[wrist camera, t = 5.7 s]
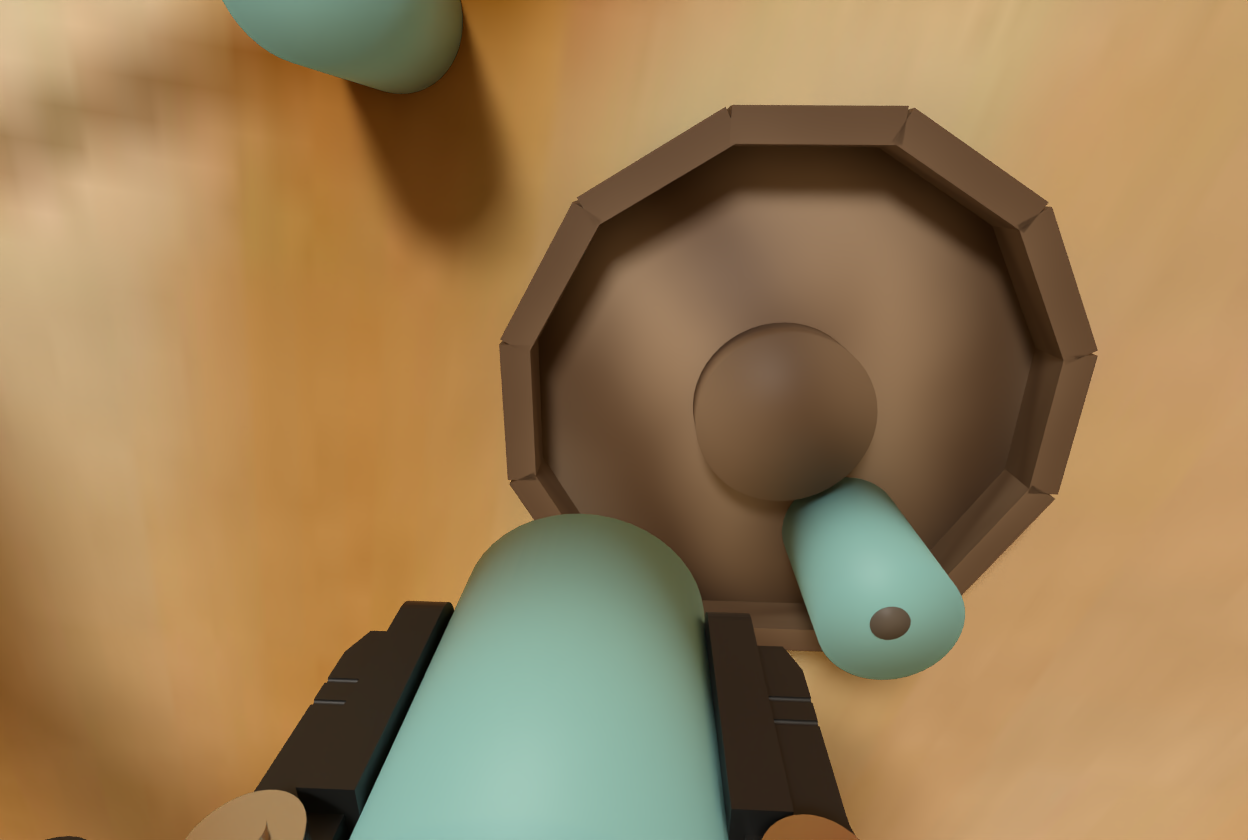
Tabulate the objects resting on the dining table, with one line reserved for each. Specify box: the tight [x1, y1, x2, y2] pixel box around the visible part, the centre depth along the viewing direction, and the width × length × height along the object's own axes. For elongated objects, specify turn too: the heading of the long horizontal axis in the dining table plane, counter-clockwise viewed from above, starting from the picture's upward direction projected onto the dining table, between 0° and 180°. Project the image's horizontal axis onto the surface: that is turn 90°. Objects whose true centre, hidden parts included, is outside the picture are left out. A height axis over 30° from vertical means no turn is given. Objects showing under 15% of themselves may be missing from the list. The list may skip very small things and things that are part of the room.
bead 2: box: [349, 514, 729, 840], centre depth 9 cm, size 4×4×6 cm
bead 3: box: [782, 477, 965, 680], centre depth 22 cm, size 4×4×6 cm
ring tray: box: [499, 105, 1097, 651], centre depth 22 cm, size 19×19×3 cm
